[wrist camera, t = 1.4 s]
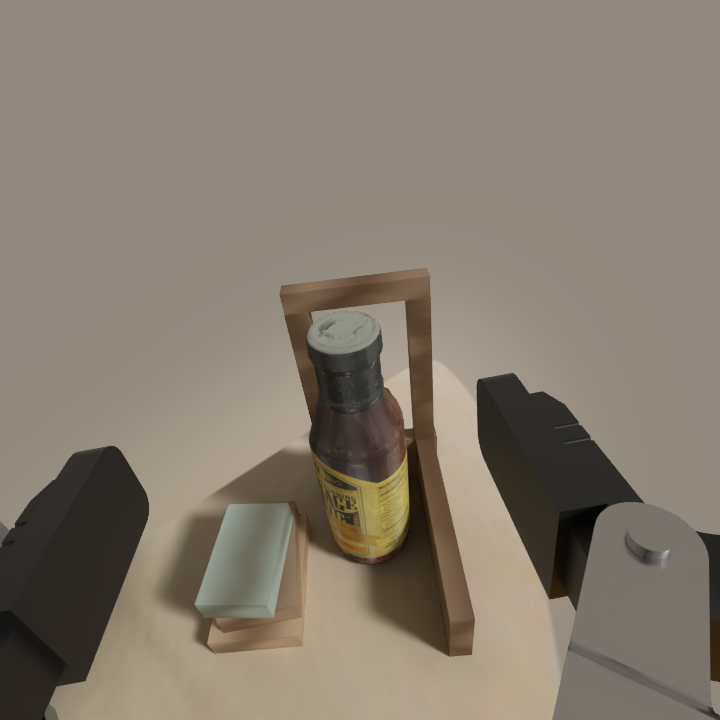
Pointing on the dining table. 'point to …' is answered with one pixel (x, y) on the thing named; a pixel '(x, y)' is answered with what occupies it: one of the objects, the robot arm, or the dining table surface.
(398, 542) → the sauce bottle
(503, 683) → the dining table surface
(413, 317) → the walnut rack
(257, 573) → the offcut stack
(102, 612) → the robot arm
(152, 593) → the dining table surface
